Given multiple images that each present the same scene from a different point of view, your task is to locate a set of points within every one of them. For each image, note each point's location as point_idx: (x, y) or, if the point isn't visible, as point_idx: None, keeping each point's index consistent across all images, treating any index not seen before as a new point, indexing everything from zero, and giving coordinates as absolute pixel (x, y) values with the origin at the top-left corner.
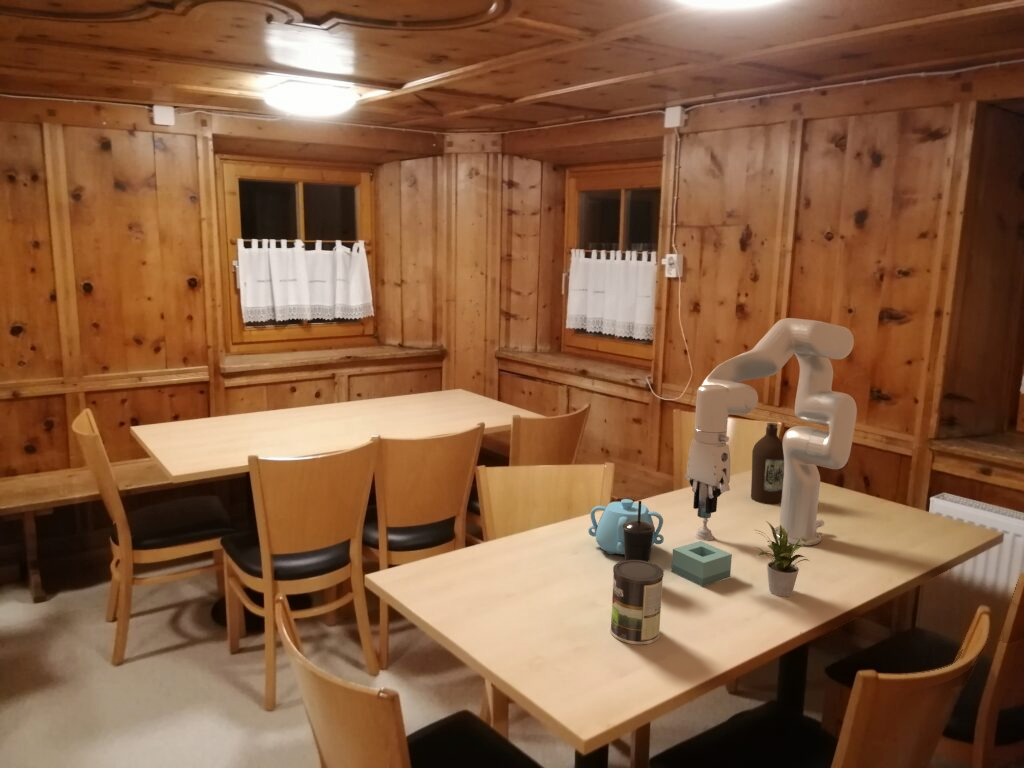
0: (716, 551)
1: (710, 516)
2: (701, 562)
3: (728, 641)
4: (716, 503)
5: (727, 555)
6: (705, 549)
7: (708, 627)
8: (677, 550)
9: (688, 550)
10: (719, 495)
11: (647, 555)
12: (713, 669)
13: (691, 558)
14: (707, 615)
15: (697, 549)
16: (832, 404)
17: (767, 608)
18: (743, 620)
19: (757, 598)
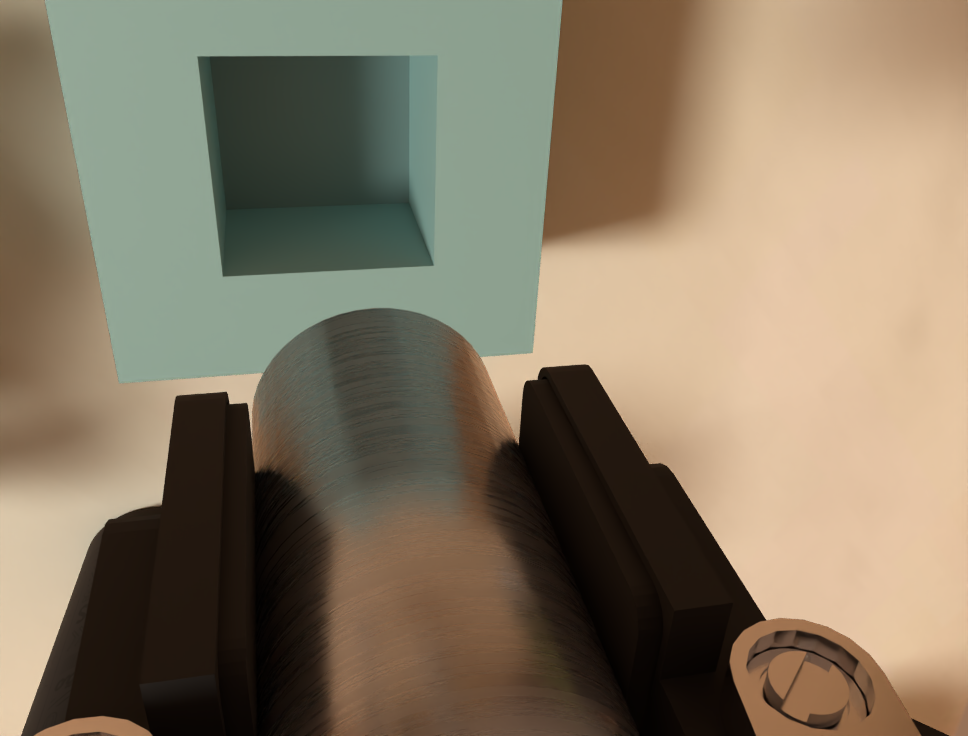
0: (411, 20)
1: (489, 379)
2: (506, 351)
3: (927, 542)
4: (712, 555)
5: (559, 1)
6: (268, 53)
7: (804, 541)
8: (177, 370)
9: (228, 274)
10: (863, 673)
11: None
12: (960, 688)
13: None
14: (738, 475)
15: (205, 117)
16: None
17: (962, 114)
18: (904, 357)
19: (855, 43)
